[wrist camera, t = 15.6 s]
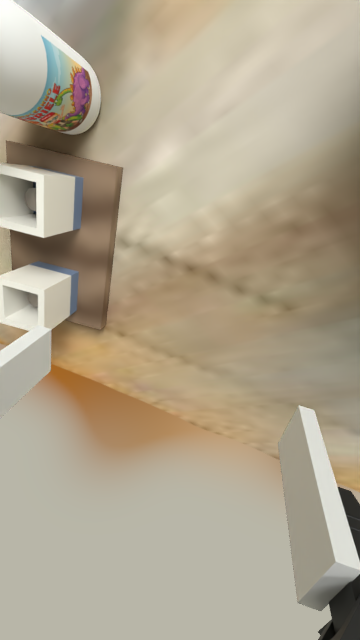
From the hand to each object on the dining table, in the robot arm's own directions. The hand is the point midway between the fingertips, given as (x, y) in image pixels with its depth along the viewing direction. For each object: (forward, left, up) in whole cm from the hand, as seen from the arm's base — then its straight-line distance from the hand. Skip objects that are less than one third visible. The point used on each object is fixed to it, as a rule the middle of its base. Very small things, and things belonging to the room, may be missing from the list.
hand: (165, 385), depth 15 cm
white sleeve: (+8, -20, -24) cm, 32 cm away
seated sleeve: (-4, -20, -24) cm, 32 cm away
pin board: (+2, -20, -26) cm, 33 cm away
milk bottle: (-15, -20, -27) cm, 37 cm away
